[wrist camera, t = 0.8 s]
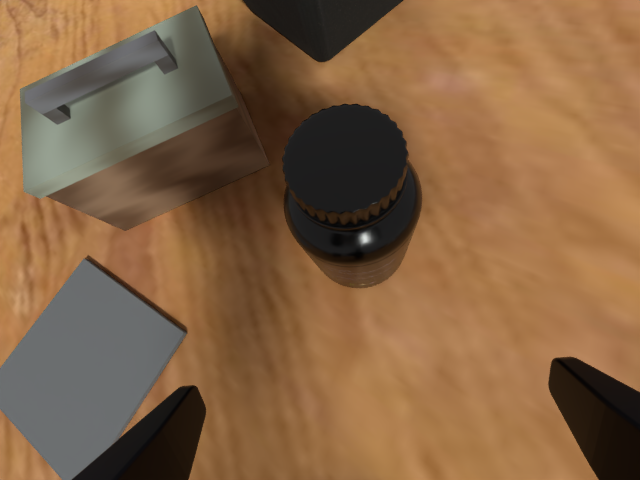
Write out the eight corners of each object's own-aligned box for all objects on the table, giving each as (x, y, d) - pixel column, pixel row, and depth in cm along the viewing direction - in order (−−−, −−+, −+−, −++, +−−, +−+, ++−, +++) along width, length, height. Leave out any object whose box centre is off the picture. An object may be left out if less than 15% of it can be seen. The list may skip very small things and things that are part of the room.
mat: (82, 493, 20) (77, 496, 20) (-11, 389, 24) (-17, 390, 23) (187, 333, 22) (184, 333, 22) (88, 259, 26) (83, 258, 26)
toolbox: (240, 88, 29) (179, -29, 20) (272, 165, 26) (216, 66, 16) (109, 150, 30) (-13, 62, 20) (123, 233, 26) (-16, 175, 17)
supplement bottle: (310, 210, 24) (255, 96, 13) (396, 197, 23) (420, 63, 12) (317, 296, 22) (258, 250, 10) (413, 285, 21) (461, 223, 10)
